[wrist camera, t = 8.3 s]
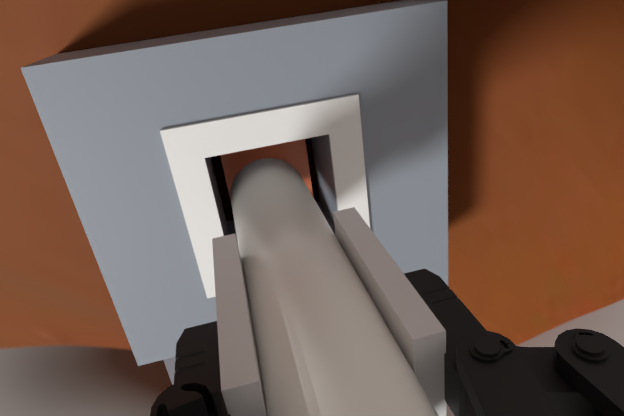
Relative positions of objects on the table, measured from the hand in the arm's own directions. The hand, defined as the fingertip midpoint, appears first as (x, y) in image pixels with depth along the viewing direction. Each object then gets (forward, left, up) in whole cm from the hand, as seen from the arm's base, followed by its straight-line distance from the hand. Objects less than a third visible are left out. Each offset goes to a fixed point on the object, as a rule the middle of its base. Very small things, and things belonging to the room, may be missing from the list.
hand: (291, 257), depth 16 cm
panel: (0, 0, -9) cm, 9 cm away
